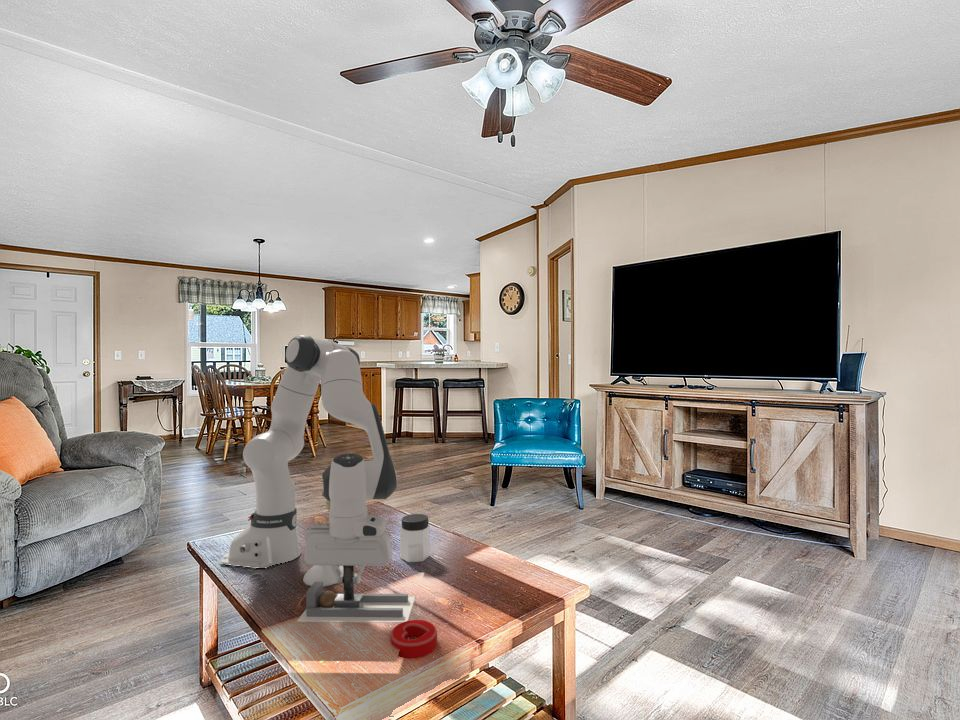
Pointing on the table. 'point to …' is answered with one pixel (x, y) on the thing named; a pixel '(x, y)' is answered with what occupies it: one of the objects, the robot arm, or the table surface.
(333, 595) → the brown ball
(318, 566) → the flower in vase
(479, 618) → the table surface
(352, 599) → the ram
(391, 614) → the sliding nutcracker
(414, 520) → the jar
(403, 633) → the decorative ornament
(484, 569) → the table surface
